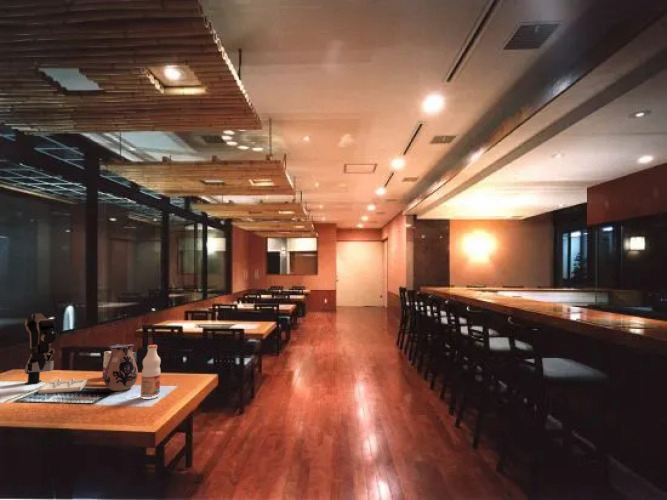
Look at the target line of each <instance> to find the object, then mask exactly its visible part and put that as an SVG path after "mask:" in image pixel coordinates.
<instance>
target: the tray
mask: <svg viewBox="0 0 667 500" xmlns="http://www.w3.org/2000/svg"><path fill="white" fill-rule="evenodd" d="M61 380H62V379H61V378H57V381H47V383H45V384H44V385H43V386H42V387H40V388H39V389H38V393H37V394H38V395H44V394H45V395H46V394H57V393H59V394H60V393H69V392H71V393H72V392H80V391H82V389H83V388H85V386H86V384H87V383H88V379H75V377H71V380H62V381H61Z"/></svg>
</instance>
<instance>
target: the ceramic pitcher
mask: <svg viewBox="0 0 667 500" xmlns="http://www.w3.org/2000/svg"><path fill="white" fill-rule="evenodd" d="M134 346H135V344H131V343H130V344H129V343H125V344H122V343H118V344H114V345H110V346H109V349H110V351H111V356H110V359H109V362H108V364H107V367H106V370H105V374H104V378H103V381H104V382H103V383H105V386H106V387H107V388H108V389H109V390H111V391H114V392H115V391H116V392H119V391H120V392H121V391H126V390H129V389H131V388H132V387H133V386H134V385H135V384H136V382H137V380H138V377H139V371H138V369H139V368H138V365H137V363H136V359H135V357H134V352H133V348H134Z"/></svg>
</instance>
